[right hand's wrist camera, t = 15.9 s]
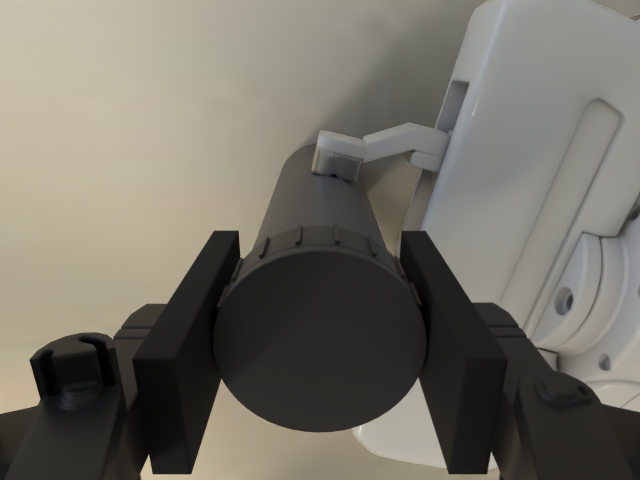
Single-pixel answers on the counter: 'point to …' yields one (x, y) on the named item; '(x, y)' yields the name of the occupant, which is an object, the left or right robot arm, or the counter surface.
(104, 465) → the right robot arm
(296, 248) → the lid
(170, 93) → the counter surface
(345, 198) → the jar
